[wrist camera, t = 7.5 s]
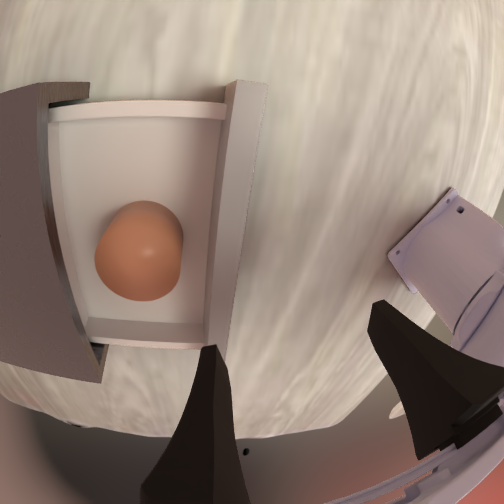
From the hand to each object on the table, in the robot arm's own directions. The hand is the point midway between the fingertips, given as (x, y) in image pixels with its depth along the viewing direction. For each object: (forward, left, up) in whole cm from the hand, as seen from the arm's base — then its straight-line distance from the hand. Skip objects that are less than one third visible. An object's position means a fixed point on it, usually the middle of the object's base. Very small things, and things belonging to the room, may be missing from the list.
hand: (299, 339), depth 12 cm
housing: (+11, -15, -9) cm, 21 cm away
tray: (+5, -7, -9) cm, 12 cm away
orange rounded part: (+5, -6, -9) cm, 12 cm away
